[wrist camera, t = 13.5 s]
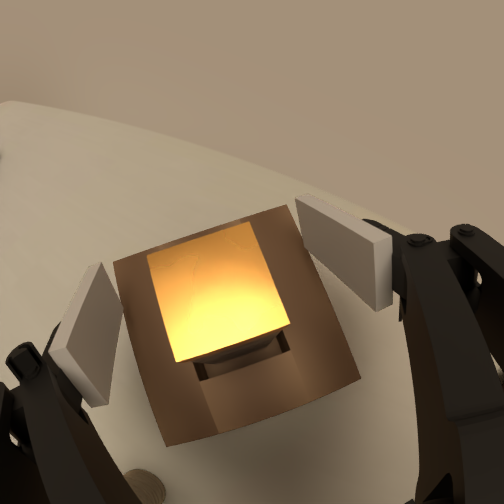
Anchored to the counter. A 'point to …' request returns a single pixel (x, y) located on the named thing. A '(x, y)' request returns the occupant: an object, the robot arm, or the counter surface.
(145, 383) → the socket block
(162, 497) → the cylinder
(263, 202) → the counter surface
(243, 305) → the square bit
